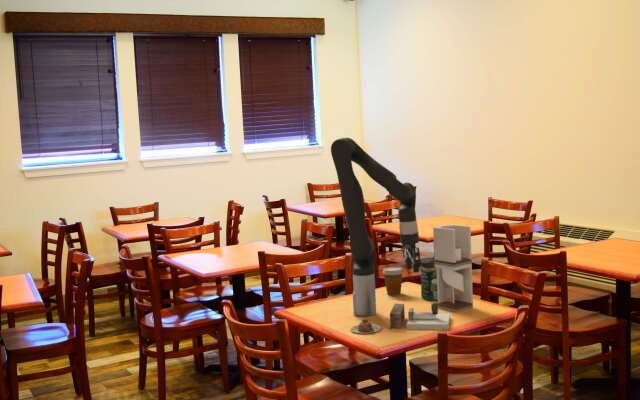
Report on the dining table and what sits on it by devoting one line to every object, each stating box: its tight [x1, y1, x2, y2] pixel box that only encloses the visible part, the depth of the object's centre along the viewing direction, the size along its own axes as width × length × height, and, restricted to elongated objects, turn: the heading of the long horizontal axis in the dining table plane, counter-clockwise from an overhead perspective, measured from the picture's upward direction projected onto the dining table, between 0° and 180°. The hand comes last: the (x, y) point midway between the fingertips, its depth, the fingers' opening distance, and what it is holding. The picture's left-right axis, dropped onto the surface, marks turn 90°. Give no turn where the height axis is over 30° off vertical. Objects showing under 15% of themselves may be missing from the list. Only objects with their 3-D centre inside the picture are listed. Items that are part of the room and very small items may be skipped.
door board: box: [406, 307, 451, 330], centre depth 310 cm, size 16×16×6 cm
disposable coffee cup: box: [382, 266, 404, 297], centre depth 362 cm, size 10×10×12 cm
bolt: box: [412, 302, 439, 319], centre depth 310 cm, size 11×3×6 cm, turn 78°
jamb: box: [389, 303, 406, 330], centre depth 313 cm, size 4×16×6 cm, turn 168°
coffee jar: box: [419, 256, 438, 302], centre depth 349 cm, size 10×8×19 cm
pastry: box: [350, 318, 382, 335], centre depth 305 cm, size 12×12×5 cm
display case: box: [432, 223, 474, 313], centre depth 331 cm, size 11×11×35 cm
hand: (412, 270), depth 319 cm, fingers open, 8 cm apart
